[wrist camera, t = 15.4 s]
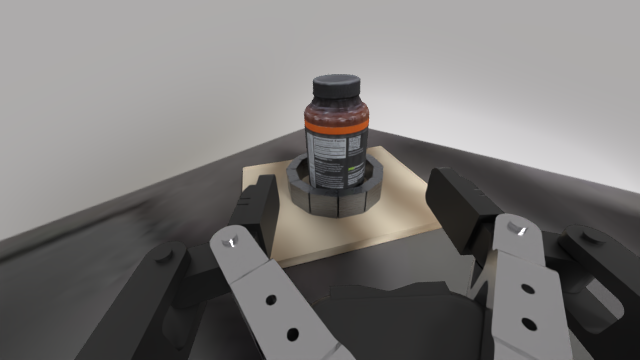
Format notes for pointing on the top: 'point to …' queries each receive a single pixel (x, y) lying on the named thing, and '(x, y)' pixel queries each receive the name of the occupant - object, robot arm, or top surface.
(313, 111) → the supplement bottle
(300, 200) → the metal collar
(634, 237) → the top surface
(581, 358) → the top surface
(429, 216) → the birch board
